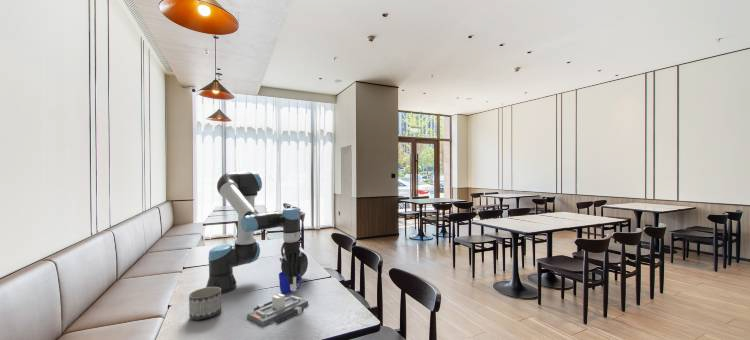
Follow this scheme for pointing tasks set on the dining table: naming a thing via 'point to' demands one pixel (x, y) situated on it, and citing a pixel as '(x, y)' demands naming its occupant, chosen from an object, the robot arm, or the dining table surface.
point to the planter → (205, 303)
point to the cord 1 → (262, 305)
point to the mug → (286, 283)
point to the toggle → (278, 301)
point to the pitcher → (304, 263)
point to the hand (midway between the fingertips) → (293, 290)
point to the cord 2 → (290, 314)
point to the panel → (275, 310)
